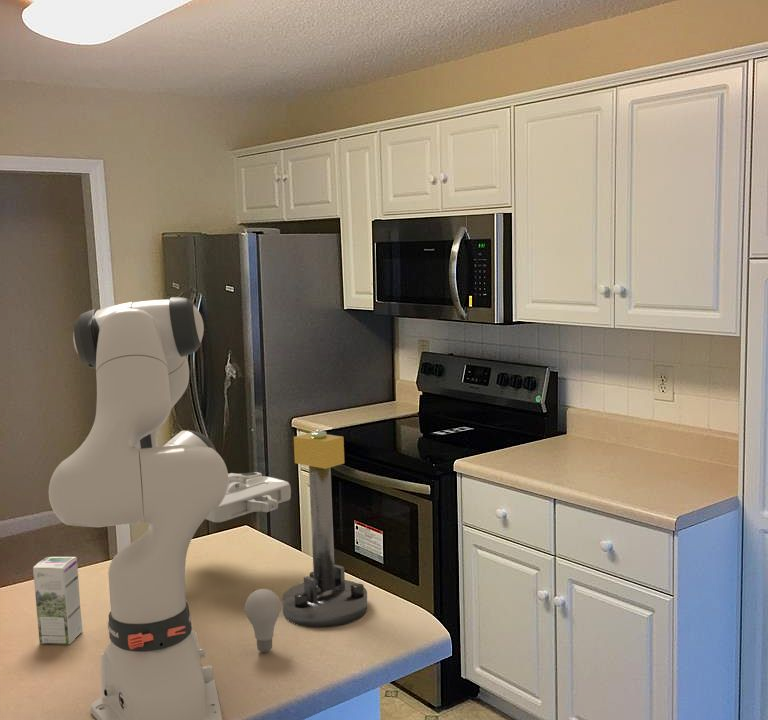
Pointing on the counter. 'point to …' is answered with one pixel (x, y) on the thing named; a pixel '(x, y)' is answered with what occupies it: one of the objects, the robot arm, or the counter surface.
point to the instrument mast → (321, 499)
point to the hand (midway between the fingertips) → (272, 506)
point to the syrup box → (57, 600)
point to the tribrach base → (325, 602)
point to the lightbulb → (263, 616)
